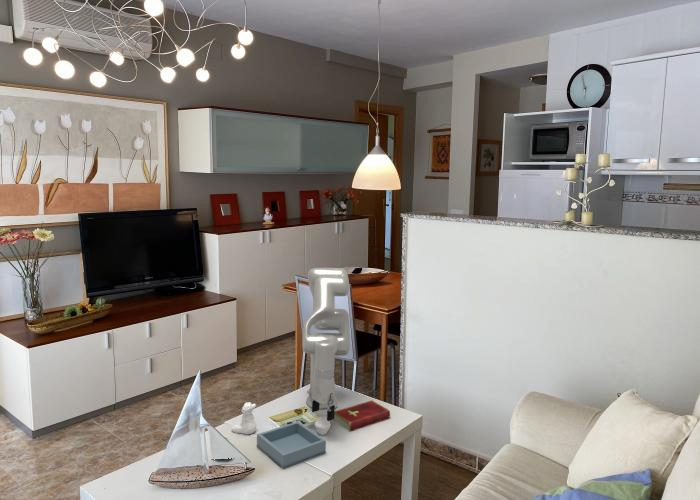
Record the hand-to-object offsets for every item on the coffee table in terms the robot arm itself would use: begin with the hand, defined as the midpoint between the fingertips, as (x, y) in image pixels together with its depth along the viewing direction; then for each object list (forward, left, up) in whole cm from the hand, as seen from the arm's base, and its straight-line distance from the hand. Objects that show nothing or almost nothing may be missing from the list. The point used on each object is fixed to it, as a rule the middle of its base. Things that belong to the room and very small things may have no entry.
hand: (322, 415), depth 207 cm
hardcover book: (-1, +21, -8) cm, 22 cm away
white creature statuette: (-19, -22, -8) cm, 30 cm away
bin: (+3, -16, -8) cm, 18 cm away
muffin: (-1, +1, -8) cm, 8 cm away
